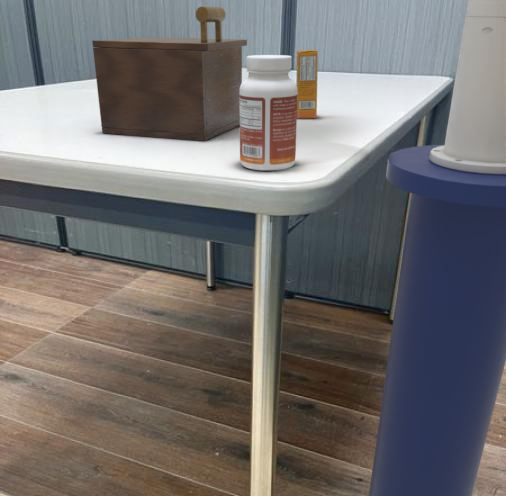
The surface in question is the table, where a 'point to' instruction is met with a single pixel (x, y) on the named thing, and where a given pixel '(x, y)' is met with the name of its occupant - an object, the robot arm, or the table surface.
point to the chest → (168, 91)
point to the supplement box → (307, 83)
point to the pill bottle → (268, 114)
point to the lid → (182, 43)
